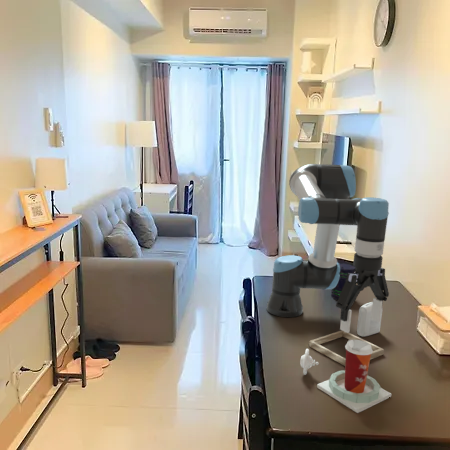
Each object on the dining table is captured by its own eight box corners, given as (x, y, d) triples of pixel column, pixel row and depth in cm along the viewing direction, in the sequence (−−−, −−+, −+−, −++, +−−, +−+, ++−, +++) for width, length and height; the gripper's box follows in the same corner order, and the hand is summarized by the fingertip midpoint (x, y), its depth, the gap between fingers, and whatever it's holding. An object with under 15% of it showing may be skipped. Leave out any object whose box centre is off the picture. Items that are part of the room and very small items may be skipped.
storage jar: (335, 291, 221) (338, 261, 218) (355, 296, 215) (358, 266, 212) (327, 297, 213) (330, 266, 210) (347, 302, 208) (350, 270, 204)
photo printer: (372, 328, 181) (375, 298, 178) (381, 332, 177) (385, 302, 175) (354, 333, 175) (357, 303, 173) (363, 338, 172) (367, 307, 169)
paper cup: (363, 398, 130) (369, 353, 127) (337, 390, 134) (342, 345, 131) (370, 386, 137) (376, 343, 134) (345, 378, 141) (350, 336, 138)
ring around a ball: (300, 366, 149) (302, 343, 147) (318, 369, 148) (320, 346, 146) (298, 378, 141) (300, 354, 140) (316, 381, 140) (319, 357, 139)
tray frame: (308, 346, 163) (309, 340, 163) (342, 334, 174) (343, 329, 173) (349, 368, 149) (349, 362, 149) (383, 354, 159) (383, 349, 159)
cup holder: (316, 387, 137) (317, 378, 136) (350, 373, 146) (350, 365, 145) (357, 413, 125) (358, 403, 125) (391, 396, 134) (392, 387, 133)
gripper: (349, 264, 117) (341, 341, 121) (407, 251, 131) (398, 321, 136) (327, 256, 123) (320, 330, 127) (384, 245, 137) (376, 312, 142)
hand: (360, 325), depth 131 cm, fingers open, 13 cm apart
